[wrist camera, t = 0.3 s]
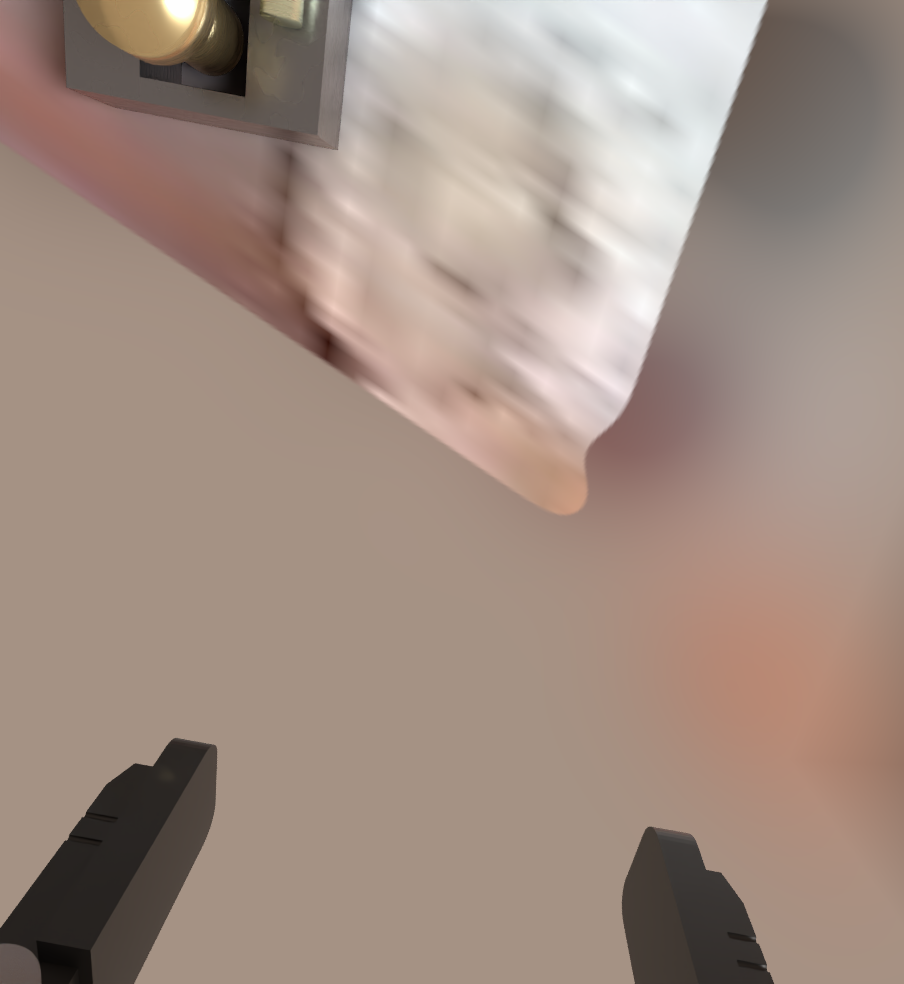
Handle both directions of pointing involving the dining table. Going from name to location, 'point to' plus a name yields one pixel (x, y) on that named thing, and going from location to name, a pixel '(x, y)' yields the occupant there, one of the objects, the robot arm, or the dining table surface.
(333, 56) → the level base plate
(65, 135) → the dining table surface
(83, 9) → the brass knob
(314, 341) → the dining table surface
